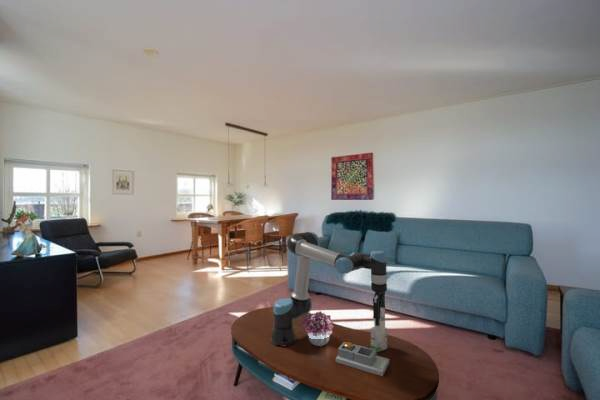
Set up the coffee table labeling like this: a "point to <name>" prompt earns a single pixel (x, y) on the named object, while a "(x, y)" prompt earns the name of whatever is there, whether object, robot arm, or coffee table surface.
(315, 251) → the robot arm
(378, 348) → the ink box
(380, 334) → the cartridge
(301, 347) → the coffee table surface
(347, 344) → the orange piece
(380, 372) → the housing
